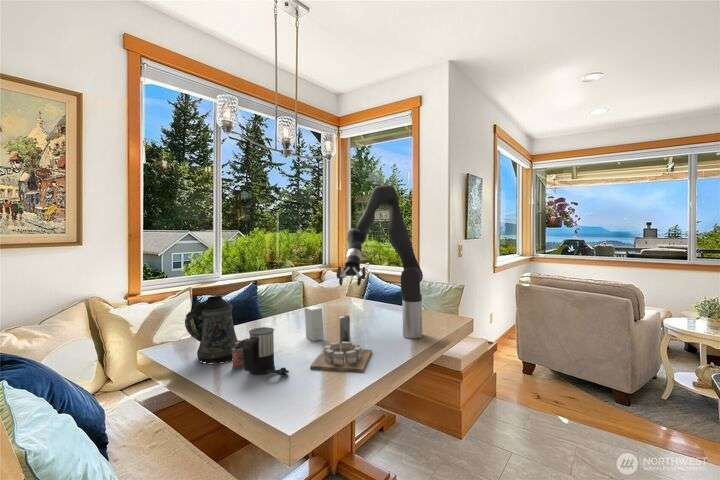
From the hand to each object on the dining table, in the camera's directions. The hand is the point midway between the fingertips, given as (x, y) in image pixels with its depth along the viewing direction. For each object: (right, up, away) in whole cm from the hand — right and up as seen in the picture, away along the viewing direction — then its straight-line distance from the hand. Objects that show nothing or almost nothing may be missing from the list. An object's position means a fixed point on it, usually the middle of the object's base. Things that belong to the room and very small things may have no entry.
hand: (349, 284), depth 166 cm
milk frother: (-28, -27, -42) cm, 57 cm away
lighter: (-40, -27, -35) cm, 60 cm away
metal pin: (-2, -25, -10) cm, 27 cm away
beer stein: (-54, -27, -27) cm, 66 cm away
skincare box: (-17, -25, -3) cm, 31 cm away
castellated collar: (-2, -26, -31) cm, 40 cm away
